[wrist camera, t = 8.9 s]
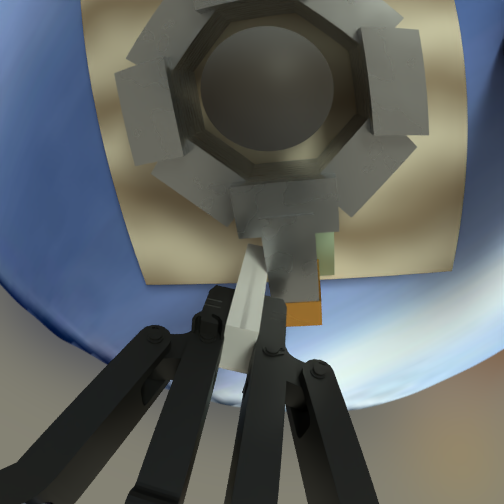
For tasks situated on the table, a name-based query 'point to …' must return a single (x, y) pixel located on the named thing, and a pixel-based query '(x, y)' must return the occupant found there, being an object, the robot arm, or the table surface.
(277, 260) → the grey handled ring
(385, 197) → the collar base
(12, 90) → the table surface
